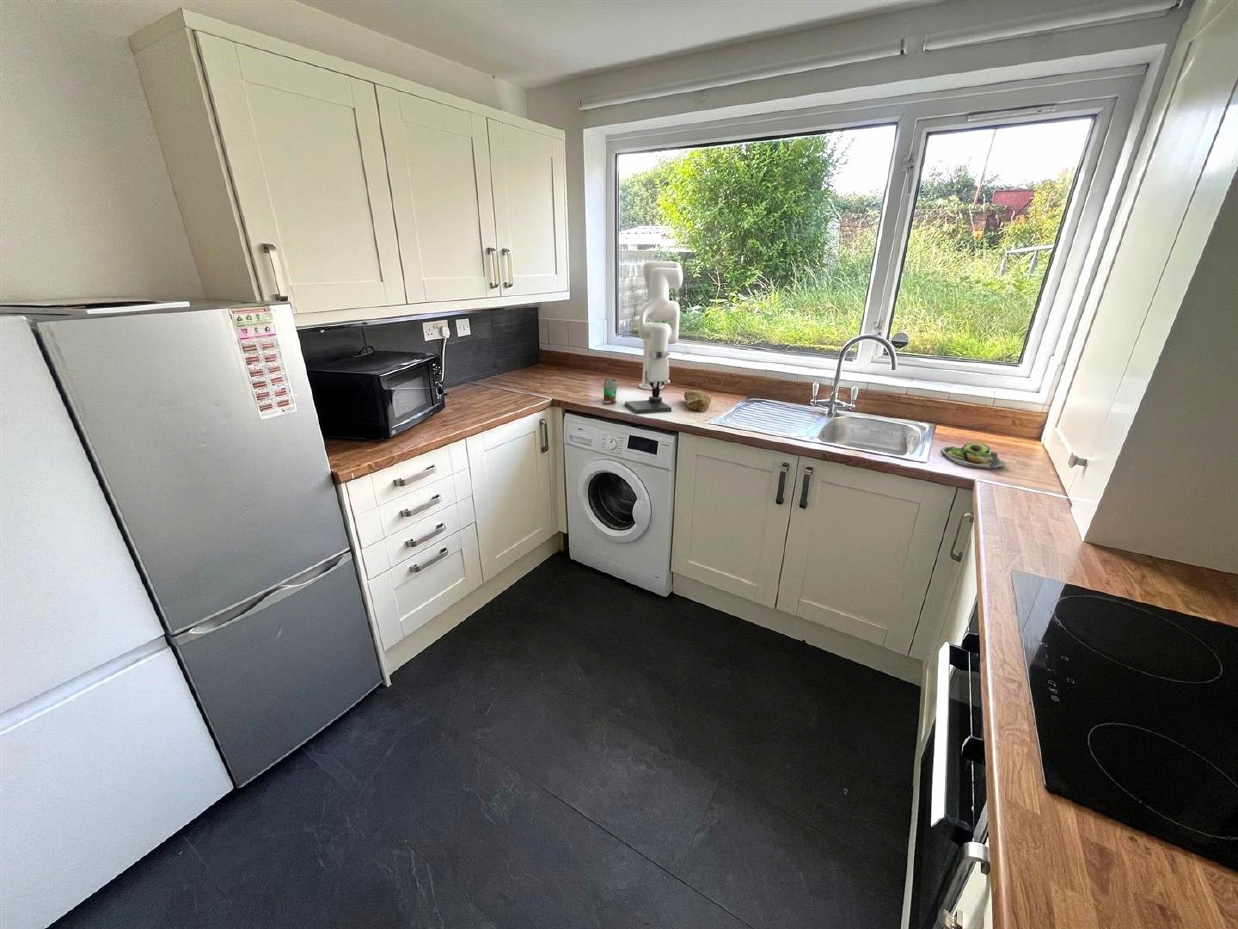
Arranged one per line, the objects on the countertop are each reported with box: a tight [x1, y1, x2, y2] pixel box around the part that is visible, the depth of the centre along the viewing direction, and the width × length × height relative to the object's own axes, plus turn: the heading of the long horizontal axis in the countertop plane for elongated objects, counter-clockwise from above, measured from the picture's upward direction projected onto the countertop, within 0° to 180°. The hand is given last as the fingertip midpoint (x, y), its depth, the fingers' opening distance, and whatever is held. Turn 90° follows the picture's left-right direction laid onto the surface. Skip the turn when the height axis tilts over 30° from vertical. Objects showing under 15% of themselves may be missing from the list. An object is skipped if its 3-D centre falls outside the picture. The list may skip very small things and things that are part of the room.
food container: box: [603, 377, 619, 406], centre depth 222 cm, size 12×6×10 cm, turn 179°
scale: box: [624, 395, 672, 415], centre depth 215 cm, size 16×14×4 cm
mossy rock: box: [683, 389, 712, 412], centre depth 221 cm, size 13×8×20 cm
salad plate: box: [940, 442, 1007, 470], centre depth 165 cm, size 19×18×5 cm
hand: (655, 396), depth 220 cm, fingers closed
